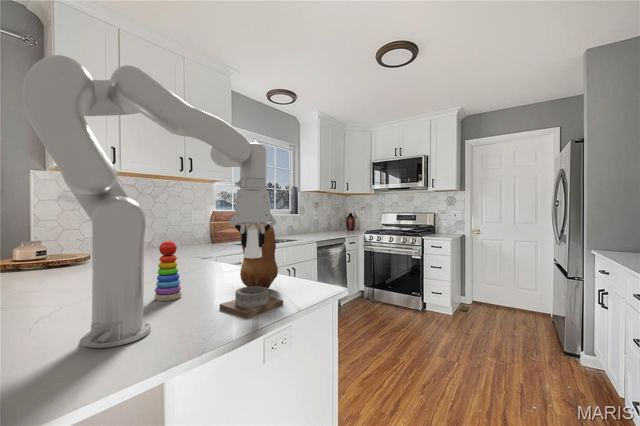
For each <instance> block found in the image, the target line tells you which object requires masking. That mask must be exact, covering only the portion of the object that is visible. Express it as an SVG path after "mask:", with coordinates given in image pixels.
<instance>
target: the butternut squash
mask: <svg viewBox="0 0 640 426" xmlns="http://www.w3.org/2000/svg"><path fill="white" fill-rule="evenodd" d="M269 223H270V221H269V222H267V223H264V225H265V227H266V226H267V225H268V224H269ZM257 224H258V226H257V228H258V229H259V230H260V231H261V229H260V224H259V223H257ZM248 228H249V223H247V225H246V232H247V229H248ZM275 233H276V232H275V228H274V227H273V226H272V227H271V228H269V229H268V230H267V231H266V232H265V243H264V244H262V247H261V249H262V257H260V258H245V257H244V256H243V260H242V261H243V262H242V264H241V267H240V273H239V275H240V280H241V282H242V283H243V285H244V286H245V287H250V286H261V287H266V288H268V289H270V287H271V285H272V284H273V282H274V280H275V279H276V278H277V277H278V272H279V270H278V269H279V268H278V264H277V260H276V249H277V244H276V234H275ZM241 247H242V253H243V254H244V250H245V247H243V244H241Z"/></svg>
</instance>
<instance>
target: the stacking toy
mask: <svg viewBox="0 0 640 426" xmlns="http://www.w3.org/2000/svg"><path fill="white" fill-rule="evenodd" d="M158 248H159V249H158V250H159V253H160V254H161V256H160V257H159V264H158V270H157V274H158V275H157V277H156V279H157V281H156V283H155V285H156V288H155V290H154V292H155V295H153V296H154V300H156V301H158V302H167V301H169V302H170V301H174V300H177V299H179V298H180V297H181V296H182V295H183V292H182V291H181V289H182V287H181V285H180V284H181V279H180V274H179V267H177V266H178V262H177V260H178V258H177V255H175V253H176V252H177V249H178V248H177V244H176V243H175V242H174V241H172V240H165V241H163V242H161V244H160V245H159V247H158Z"/></svg>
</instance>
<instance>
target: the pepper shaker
mask: <svg viewBox="0 0 640 426" xmlns="http://www.w3.org/2000/svg"><path fill="white" fill-rule="evenodd" d="M257 226H258V224H257V223H249V228H248V229H247V232H246V247H245V250H244V253H243V258H244V257H245V258H260V257H262V249H261V247H259V234H260V230H259V229H258V228H257Z"/></svg>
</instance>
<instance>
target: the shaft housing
mask: <svg viewBox="0 0 640 426" xmlns="http://www.w3.org/2000/svg"><path fill="white" fill-rule="evenodd" d="M269 292H270V288H266V287H261V286H250V287H247V286H243V287H240V288H237V289H236V290H235V295H234V296H235V299H233V300H229V301H225V302H222V303H219V310H221V311H224V312H226V313H230V314H232V315H236V316H239V317H242V318H246V319H249V318H252V317H255V316H257V315H261V314H262V313H265V312H268V311H271V310H273V309H276V308H278V307H279V308H280V307H282V306H283V305H284V300H283V299H280V298H276V297H274V296H273V297H272V296H269V295H270V293H269Z"/></svg>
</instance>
